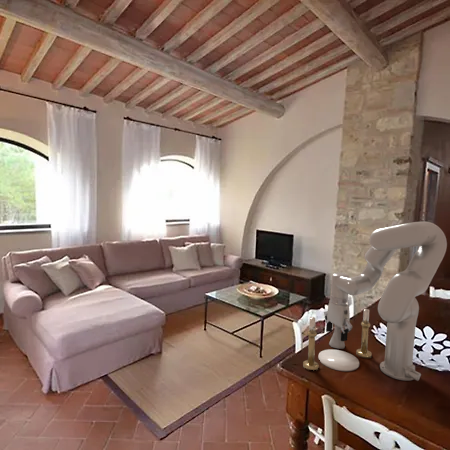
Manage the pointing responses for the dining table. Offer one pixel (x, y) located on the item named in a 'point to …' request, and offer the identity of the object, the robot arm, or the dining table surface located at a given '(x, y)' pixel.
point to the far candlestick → (364, 336)
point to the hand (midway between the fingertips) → (336, 335)
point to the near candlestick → (311, 347)
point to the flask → (337, 338)
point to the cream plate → (338, 360)
